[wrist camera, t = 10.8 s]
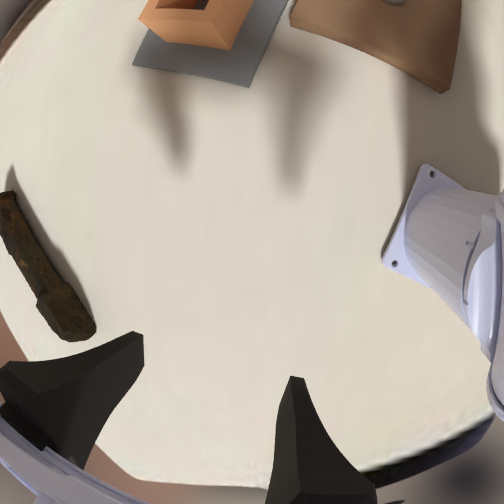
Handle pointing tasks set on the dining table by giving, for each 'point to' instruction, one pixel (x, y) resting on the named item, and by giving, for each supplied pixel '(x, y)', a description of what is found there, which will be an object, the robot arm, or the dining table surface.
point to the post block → (391, 32)
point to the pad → (213, 59)
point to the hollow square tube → (196, 21)
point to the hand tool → (43, 276)
